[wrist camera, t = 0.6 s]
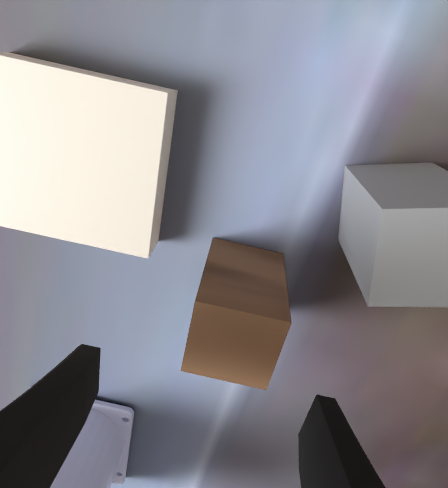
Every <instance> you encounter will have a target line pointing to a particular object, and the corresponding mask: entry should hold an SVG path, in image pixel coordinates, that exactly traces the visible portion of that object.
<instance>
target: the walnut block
mask: <svg viewBox="0 0 448 488" xmlns="http://www.w3.org/2000/svg"><path fill="white" fill-rule="evenodd" d="M290 325H291V315H290V306H289V298H288V289H287V281H286V273H285V264H284V256H283V253H278V252H274V251H270V250H265V249H261V248H257V247H252V246H248V245H243V244H239V243H235V242H230V241H226V240H221V239H217V238H213V239H212V243H211V246H210V250H209V253H208V257H207V261H206V264H205V268H204V271H203V275H202V278H201V282H200V286H199V289H198V293H197V296H196V300H195V304H194V309H193V314H192V319H191V324H190V328H189V333H188V338H187V343H186V348H185V353H184V357H183V362H182V367H181V371H184V372H188V373H192V374H197V375H201V376H206V377H210V378H215V379H219V380H224V381H228V382H233V383H237V384H242V385H246V386H251V387H255V388H260V389H264V390H266V389H267V387H268V384H269V381H270V379H271V376H272V373H273V371H274V368H275V365H276V363H277V360H278V357H279V355H280V352H281V349H282V347H283V344H284V341H285V339H286V336H287V333H288V331H289V328H290Z"/></svg>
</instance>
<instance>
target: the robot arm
mask: <svg viewBox="0 0 448 488" xmlns="http://www.w3.org/2000/svg"><path fill="white" fill-rule="evenodd" d="M99 369H100V348H98V347H93V346H89V345H84V344H82V345H80V346H78V347H77V348H76V349H75V350H74V351H73V352H72V353H71V354H69V355H68V356H67V357H66V358H65V359H64V360H63V361H62V362H61V363H59V364H58V365H57V366H56V367H55V368H54V369H52V370H51V371H50V372H49V373H48V374H47V375H45V376H44V377H43V378H42V379H41V380H39V381H38V382H37V383H36V384H34V385H33V386H31V387H29V389H28V390H27V391H26V392H25V393H23V394H22V395H21V396H20V397H18V398H17V399H16V400H14V401H13V402H12V403H10V404H9V405H8V406H6V407H5V408H4V409H2V410H1V411H0V488H110V485H111V483H115V484H123V483H124V481H125V478H126V470H127V463H128V455H129V448H130V440H131V433H132V425H133V418H134V411H133V409H132V408H130V407H126V406H122V405H117V404H113V403H108V402H104V401H100V400H95V399H96V396H97V394H98V391H99ZM299 472H300V480H301V488H385V486H384V484H383V483H382V481H381V479H380V478H379V476H378V475H377V473H376V471H375V469H374V468H373V466H372V464H371V463H370V461H369V459H368V458H367V456H366V454H365V452H364V451H363V449H362V447H361V445H360V444H359V442H358V440H357V438H356V436H355V434H354V433H353V431H352V429H351V427H350V425H349V423H348V422H347V420H346V418H345V416H344V414H343V412H342V410H341V408H340V407H339V405H338V403H337V401H336V400H335V398H330V397H325V396H321V395H316V397H315V399H314V401H313V404H312V406H311V408H310V410H309V412H308V415H307V417H306V419H305V421H304V424H303V426H302V428H301V430H300V432H299Z"/></svg>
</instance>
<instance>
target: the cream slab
mask: <svg viewBox="0 0 448 488" xmlns="http://www.w3.org/2000/svg"><path fill="white" fill-rule="evenodd" d="M177 93H178V90H174V89H169V88H165V87H160V86H156V85H152V84H147V83H143V82H138V81H134V80H129V79H125V78H120V77H116V76H112V75H107V74H103V73H98V72H94V71H89V70H85V69H80V68H76V67H71V66H67V65H63V64H58V63H54V62H49V61H45V60H40V59H36V58H31V57H27V56H23V55H18V54H14V53H9V52H0V226H3V227H7V228H12V229H17V230H21V231H26V232H30V233H35V234H39V235H44V236H48V237H53V238H57V239H62V240H67V241H71V242H76V243H80V244H85V245H89V246H94V247H98V248H103V249H107V250H112V251H117V252H121V253H126V254H130V255H135V256H139V257H144V258H149V256H150V254H151V253H152V251H153V249H154V248H155V246H156V244H157V243H158V241H159V233H160V225H161V217H162V210H163V202H164V194H165V186H166V178H167V171H168V163H169V155H170V147H171V140H172V132H173V124H174V116H175V108H176V101H177Z"/></svg>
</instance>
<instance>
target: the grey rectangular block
mask: <svg viewBox="0 0 448 488" xmlns="http://www.w3.org/2000/svg"><path fill="white" fill-rule="evenodd" d="M338 240H339V242H340V245H341V247H342V249H343V251H344V254H345V256H346V258H347V260H348V263H349V265H350V267H351V269H352V272H353V274H354V276H355V279H356V281H357V283H358V285H359V288H360V290H361V292H362V294H363V297H364V299H365V301H366V303H367V306H368V307H448V171H446V170H445V169H443V168H441V167H439V166H438V165H436V164H434V163H432V162H431V163H401V164H372V165H345V172H344V183H343V193H342V204H341V215H340V226H339V237H338Z"/></svg>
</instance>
